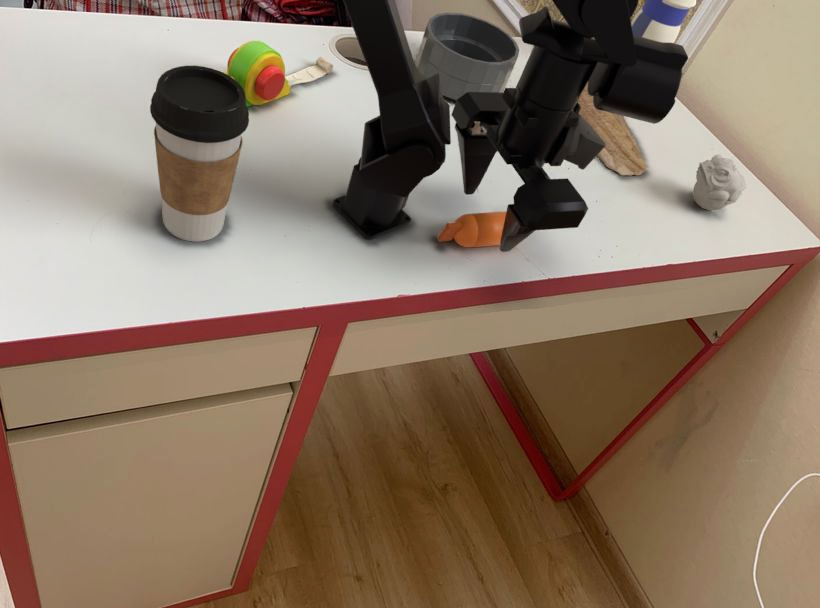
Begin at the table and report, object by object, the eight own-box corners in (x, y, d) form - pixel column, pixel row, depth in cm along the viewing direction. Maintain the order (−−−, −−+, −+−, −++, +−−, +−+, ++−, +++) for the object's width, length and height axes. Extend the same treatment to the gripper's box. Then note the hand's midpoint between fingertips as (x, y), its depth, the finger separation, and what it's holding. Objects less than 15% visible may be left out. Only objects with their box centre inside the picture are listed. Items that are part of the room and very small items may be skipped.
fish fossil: (669, 175, 97) (674, 168, 96) (608, 181, 94) (612, 174, 93) (580, 67, 111) (583, 60, 110) (524, 69, 108) (526, 63, 107)
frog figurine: (671, 185, 96) (702, 142, 90) (718, 196, 96) (751, 154, 91) (682, 214, 92) (715, 170, 86) (731, 225, 93) (766, 182, 87)
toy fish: (441, 255, 76) (455, 237, 73) (431, 227, 78) (444, 208, 74) (514, 249, 80) (530, 232, 77) (503, 222, 81) (519, 204, 78)
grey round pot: (457, 115, 95) (474, 71, 90) (395, 64, 100) (408, 19, 95) (518, 97, 102) (537, 54, 97) (457, 50, 107) (472, 7, 102)
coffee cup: (154, 252, 67) (156, 114, 55) (145, 194, 71) (144, 55, 60) (243, 249, 70) (261, 117, 58) (228, 193, 74) (242, 61, 63)
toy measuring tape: (197, 96, 84) (200, 44, 79) (310, 57, 96) (319, 10, 91) (233, 124, 82) (239, 72, 77) (344, 81, 94) (355, 34, 89)
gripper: (669, 154, 63) (587, 276, 75) (568, 42, 73) (510, 165, 85) (569, 157, 59) (499, 285, 71) (476, 38, 69) (428, 167, 81)
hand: (485, 221), depth 77 cm, fingers open, 9 cm apart
